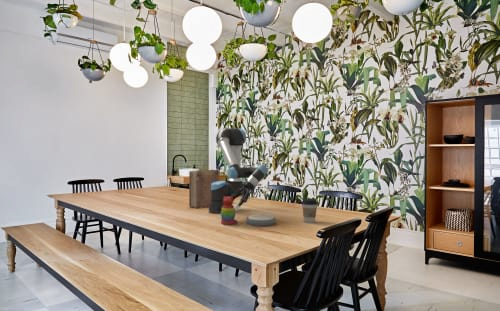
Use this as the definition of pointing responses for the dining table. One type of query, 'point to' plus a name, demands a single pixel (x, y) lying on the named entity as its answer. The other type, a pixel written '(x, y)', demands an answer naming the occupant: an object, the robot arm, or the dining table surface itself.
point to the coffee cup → (309, 210)
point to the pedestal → (261, 220)
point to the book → (201, 187)
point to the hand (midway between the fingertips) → (230, 207)
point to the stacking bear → (228, 212)
